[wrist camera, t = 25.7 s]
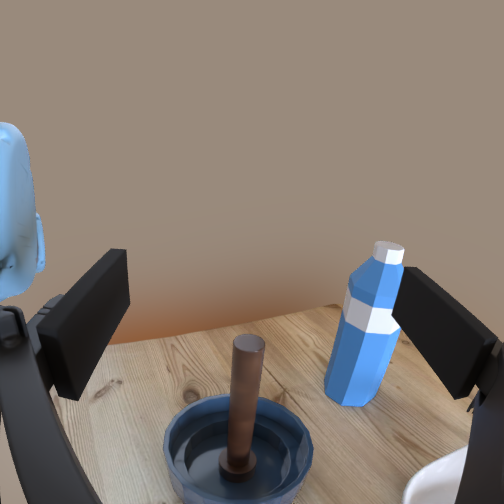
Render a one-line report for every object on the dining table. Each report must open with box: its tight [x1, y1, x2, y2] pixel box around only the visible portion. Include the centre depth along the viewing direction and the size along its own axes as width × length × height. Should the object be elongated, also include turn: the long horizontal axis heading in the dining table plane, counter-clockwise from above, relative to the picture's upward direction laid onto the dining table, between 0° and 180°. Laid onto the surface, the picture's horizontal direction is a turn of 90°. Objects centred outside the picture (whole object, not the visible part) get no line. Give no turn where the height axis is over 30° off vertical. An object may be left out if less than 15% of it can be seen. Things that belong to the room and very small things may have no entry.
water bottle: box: [324, 241, 404, 407], centre depth 44 cm, size 9×9×25 cm
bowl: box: [163, 394, 314, 504], centre depth 31 cm, size 16×16×6 cm
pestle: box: [218, 334, 265, 483], centre depth 28 cm, size 4×4×20 cm
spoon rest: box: [402, 445, 468, 504], centre depth 25 cm, size 24×12×7 cm, turn 120°
